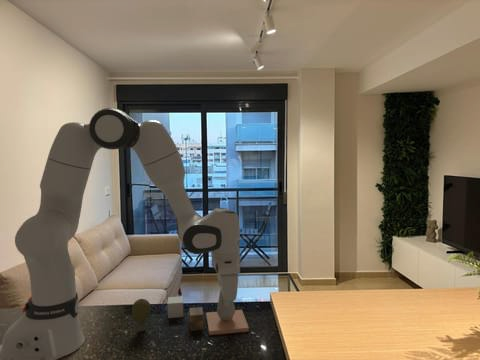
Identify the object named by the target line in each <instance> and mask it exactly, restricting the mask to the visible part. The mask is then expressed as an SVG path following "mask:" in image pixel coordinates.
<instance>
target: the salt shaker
mask: <svg viewBox="0 0 480 360" xmlns="http://www.w3.org/2000/svg"><path fill="white" fill-rule="evenodd" d="M218 285H219V286H220V280H219V281H218ZM219 291H220V292H219V297H218V303H217V307H216V312H217V313H218V316H219V318H220V319H221V320H222V321H229V320H232V318H233V316H234V313H235V310H236V307H235V302H234V301H230V306H226V307H225V306H224V299H223V295H222V292H221V288H220V289H219Z"/></svg>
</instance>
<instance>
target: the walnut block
mask: <svg viewBox="0 0 480 360" xmlns="http://www.w3.org/2000/svg"><path fill="white" fill-rule="evenodd" d="M189 327H190V328H189V329H190V332H193V331H204V310H203V307H202V306H199V307H189Z"/></svg>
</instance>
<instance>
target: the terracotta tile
mask: <svg viewBox="0 0 480 360" xmlns="http://www.w3.org/2000/svg"><path fill="white" fill-rule="evenodd" d="M205 316H206V322H207V324H206V325H207V330H208V335H209V336H213V335H214V336H215V335H224V334H225V335H226V334H235V333H245V332H249V330H250V329H249V324H248V321H247V319H246V317H245V314H244V311H243V309H235V313H234V316H233V318H232V320H229V321H222V320H221V319H220V318H219V316H218V313H217V311H209V312H206V313H205Z"/></svg>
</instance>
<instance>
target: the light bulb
mask: <svg viewBox="0 0 480 360" xmlns="http://www.w3.org/2000/svg"><path fill="white" fill-rule="evenodd" d="M151 310H152V306H151V303H150V302H149V301H148V300H147V299H145V298H139V299H137V300H135V302H133V304H132V307H131V313H132V315H133V317H134V319H135V321H136V325H137V330H138V331H139V332H144V331H145V330H146V329H147V321H148V319H149V315H150V313H151Z"/></svg>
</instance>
